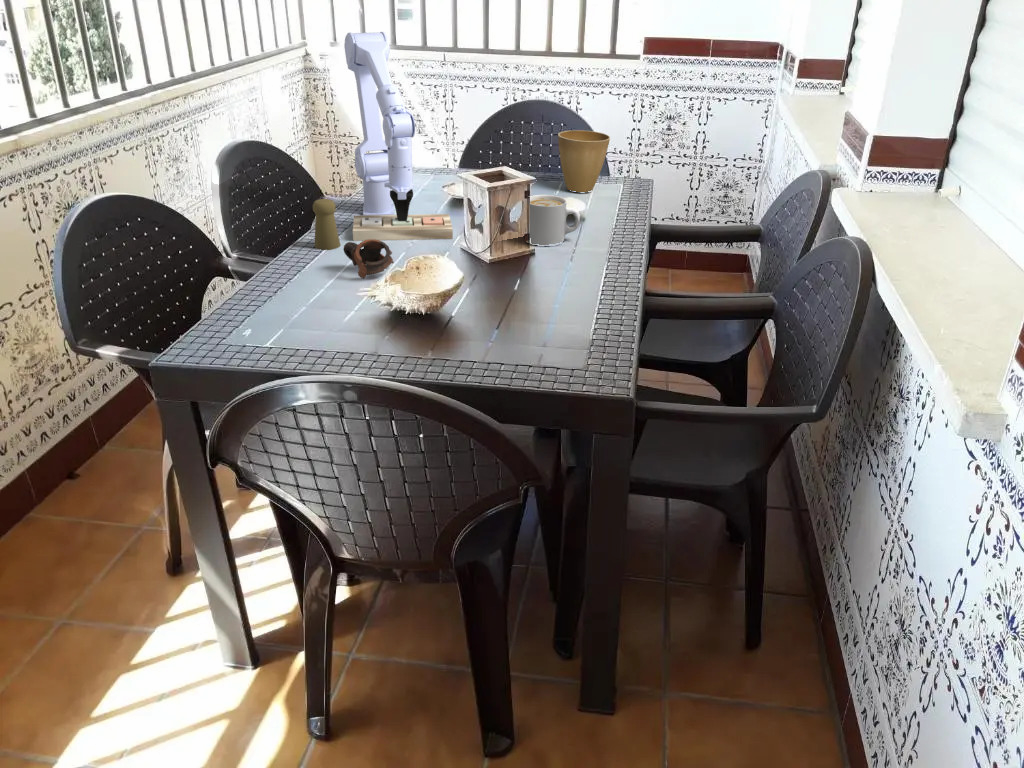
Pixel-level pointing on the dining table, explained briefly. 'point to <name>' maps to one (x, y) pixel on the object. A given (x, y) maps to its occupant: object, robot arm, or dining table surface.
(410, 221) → the three dot key
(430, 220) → the one dot key
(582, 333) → the dining table surface
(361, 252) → the pottery mug
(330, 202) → the cork
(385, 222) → the wooden puzzle board
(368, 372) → the dining table surface
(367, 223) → the two dot key
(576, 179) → the plant pot
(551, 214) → the coffee mug
